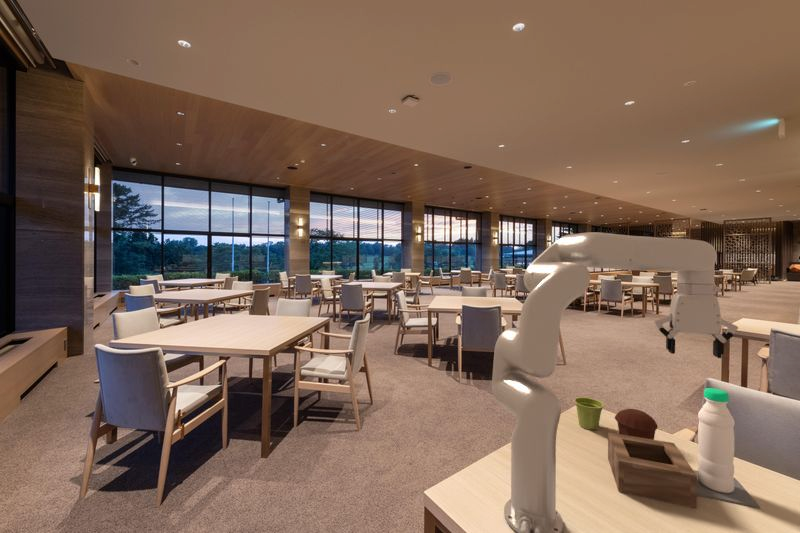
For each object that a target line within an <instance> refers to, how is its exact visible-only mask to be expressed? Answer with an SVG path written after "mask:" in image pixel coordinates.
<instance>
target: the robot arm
mask: <svg viewBox="0 0 800 533" xmlns="http://www.w3.org/2000/svg"><path fill="white" fill-rule="evenodd" d="M717 257H718V256H717V251H716V249H715V246H713V245H712V244H711V243H709V242H707V241H704V240H699V239H689V238H675V237H674V238H673V237H672V238H671V237H669V238H668V237H654V236H643V235H642V236H641V235H639V236H638V235H626V234H616V233H608V232H607V233H606V232H601V231H600V232H599V231H598V232H596V231H595V232H594V231H591V232H589V231H588V232H581V233H571V234H565V235H563V236H561V237H560V238H559V239H557V240H555V241H554V242H553V243H552V244H551V245H550V246H548V247H547V248H546V249H545V250H543V252H542V253H540V254H539V255H538V257H536V258H535V259H534V260H533V261H532V262H531V263H530V264H529V265H528V266H527V268H526V269H525V271H524V273H523V274H524V275H523V284H524V286H525V288H526V289H527V291H529V292H530V293H529V294H528V295H527V296H526V298H525V299H524V302H523V305H522V307H521V310H520V317H519V324H518V327H510V328H506V330H504V331H503V332H501V334H499V336H498V338H497V340H496V342H495V346H494V354H493V366H492V380H491V381H492V382H491V389H492V394H493V395H492V396H493V397H494V400H496V403H497V404H499V405H500V406H501V407H502V408H504V409H505V411H508V412H509V413H510V414H512V415H513V416H514V417H515V418H516V424H515V427H514V429H513V430H512V433H511V438H510V450H511V452H510V456H511V457H510V468H511V469H510V472H511V473H510V499H508V500H507V502H505V505H504V507H503V508H504V509H503V514H504V518H505V521H506V523H507V524H508V525H509V527H510V528H512V530H514V531H515V533H563V532H564V520H563V518H562V515H561V514H560V513H559V511H557V510H556V502H557V501H556V499H557V498H556V496H557V495H556V494H557V492H556V489H557V487H556V486H557V480H556V479H557V476H556V474H557V466H556V465H557V464H556V463H557V459H556V458H557V453H556V452H557V436H558V435H557V432H558V429H559V423H560V419H561V413H562V406H561V402H560V400H559V397H558V396H557V394H556V393H555V392H554V391H553V389H550V388H549V387H548V386H546V385H545V384H543V383H541V382H539V381H537V380H535V379H534V378H531V377H529V376H532V377H535V378H538V379H540V378H541V379H544V378H548V377H551V375H552V374H554V372H555V370H556V367H557V363H558V362H557V361H558V352H559V337H560V326H561V319H562V316H563V314H564V312H565V311H566V309H567V308H568V307H569V305H570V304H572V302H574V301H575V300H576V299H578V298H579V297H581V296H583V294H584V293H585V292H586V291H587V289H588V287H590V283H591V273H590V271H589V269H588V268H594V269H595V268H596V269H597V268H598V269H609V270H610V269H612V270H613V269H614V270H623V271H624V270H625V271H660V272H677V273H676V294H672V296H671V301H670V306H669V314H668V315H666V316H663V317H661V318H658V319H655V320H654V321H653V322H654V324H655V326H656V327H657V330H658V331H659V332H661V334H662V335H664V337H665V348H666V350H667V352H668V353H670V354H672V355H673V354H676V339H675V336H676V335H677V334H679V333H682V334H694V335H695V334H696V335H711V336H712V337H713V338H714V340H713V341H712V342H713V343H712V355H713V356H714V357H716V358H717V359H722V355H724V353H725V352H724V351H725V350H724V349H725V343H727V341H728V340H730V339H731V338H732V337H733V336H734V334H736V332H737V331H738V330H739V327H738V326H737V325H735V324H733V323H731V322H729V321H727V320H725V319H723V318H722V315H721V308H720V304H719V303H720V302H719V299H718V296H715V295H716V293H721V292H722V287H721V286H717V285H716V284H715V268H716V266H715V264H716V261H717ZM666 323H668V327H669V329H668V330H667V329H665V327H664V324H666ZM722 326H724V327H725V328H727V329H726V331H725V332H723V333H722V334H721V332H722ZM528 375H529V376H528Z"/></svg>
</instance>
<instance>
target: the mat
mask: <svg viewBox="0 0 800 533" xmlns="http://www.w3.org/2000/svg"><path fill="white" fill-rule="evenodd" d="M693 471H694V472H695V473H696V475H697V497H698V496H699V497H703V498H709V499H713V500H717V501H718V500H719V501H723V502H727V503H732V504H736V505H741V506H742V505H743V506H747V507H752V508H756V509H761V506H760V504H758V502H757V501H756V500H755V499H754V498H753V497H752V496H751V495H750V493H748V491H747V490H746V489H745V488H744V487H743V485H742V484H741V483H740V481H738V480H737V479H736V478H735V477H733V478H734V491H733V492H730V493H722V492H717V491H714V490H712V489H709V488H707V487H706V486H704V485H703V484H702V483H701V482H700V481H699V480H698V470H695V469H693Z"/></svg>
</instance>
